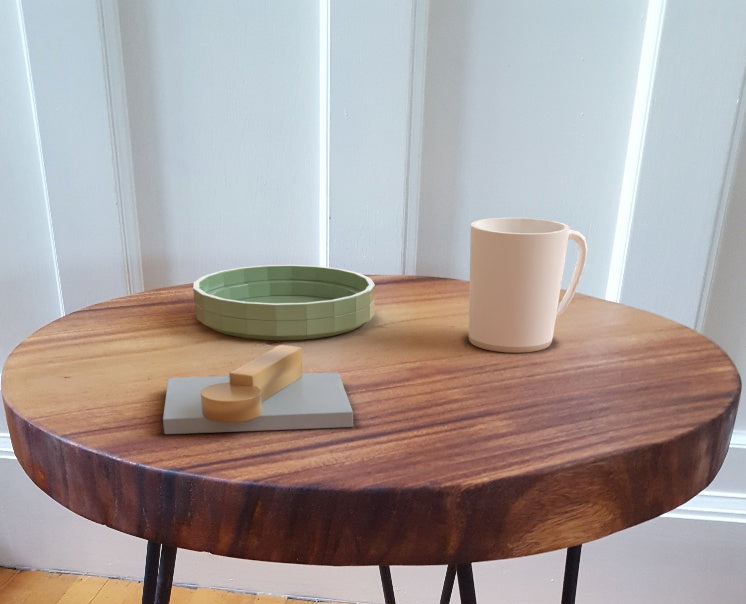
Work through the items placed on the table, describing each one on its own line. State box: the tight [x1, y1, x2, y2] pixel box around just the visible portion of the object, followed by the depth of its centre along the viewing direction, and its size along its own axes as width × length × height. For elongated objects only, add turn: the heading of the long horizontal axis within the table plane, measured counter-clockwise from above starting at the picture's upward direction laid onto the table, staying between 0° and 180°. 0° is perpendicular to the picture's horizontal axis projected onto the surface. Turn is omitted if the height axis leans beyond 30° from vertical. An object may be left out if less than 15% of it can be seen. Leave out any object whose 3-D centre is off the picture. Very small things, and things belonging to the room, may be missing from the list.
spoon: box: [201, 344, 303, 422], centre depth 73 cm, size 12×4×2 cm, turn 158°
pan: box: [192, 264, 376, 341], centre depth 98 cm, size 18×18×4 cm
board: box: [162, 371, 354, 435], centre depth 75 cm, size 14×10×1 cm
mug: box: [468, 217, 589, 354], centre depth 90 cm, size 11×9×10 cm
